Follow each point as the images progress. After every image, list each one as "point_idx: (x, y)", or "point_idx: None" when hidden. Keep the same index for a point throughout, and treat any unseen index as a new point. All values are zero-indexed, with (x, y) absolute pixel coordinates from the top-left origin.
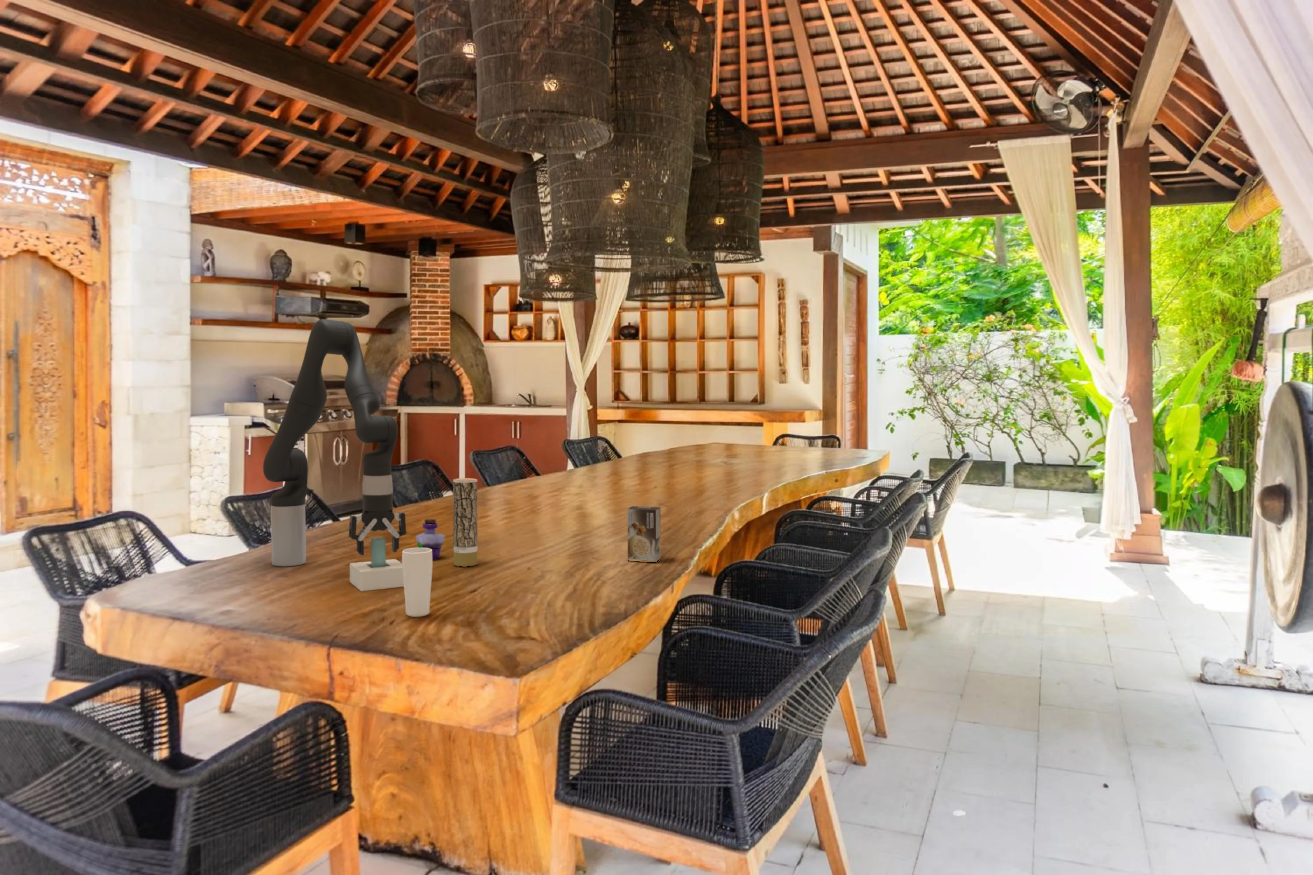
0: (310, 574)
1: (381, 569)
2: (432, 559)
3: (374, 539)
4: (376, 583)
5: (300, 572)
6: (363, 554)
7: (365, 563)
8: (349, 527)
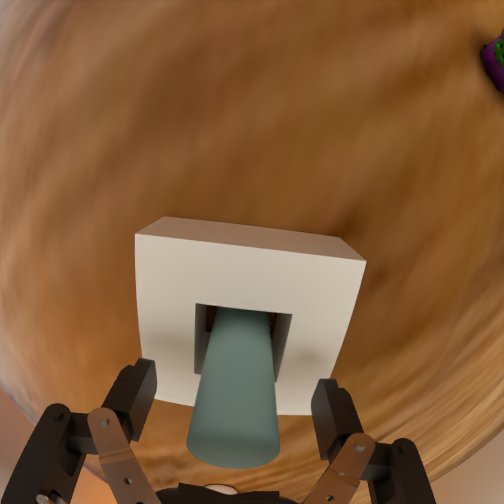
0: (104, 35)
1: None
2: (499, 89)
3: (204, 450)
4: None
5: (98, 4)
6: (155, 389)
7: (199, 283)
8: (27, 450)
